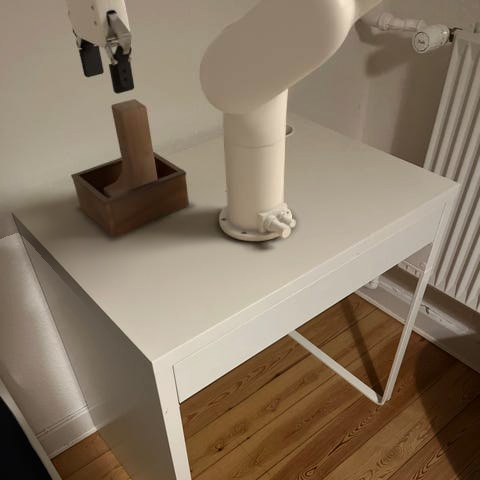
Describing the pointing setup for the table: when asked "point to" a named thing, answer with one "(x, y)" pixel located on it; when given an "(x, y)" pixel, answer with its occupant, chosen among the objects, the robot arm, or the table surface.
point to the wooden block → (132, 147)
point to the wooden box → (130, 196)
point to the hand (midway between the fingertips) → (108, 82)
